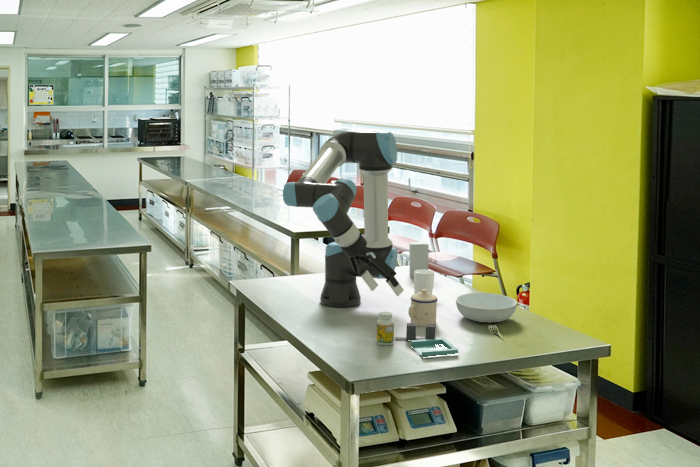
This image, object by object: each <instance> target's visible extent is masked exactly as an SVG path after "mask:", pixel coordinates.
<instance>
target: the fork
mask: <svg viewBox="0 0 700 467" xmlns="http://www.w3.org/2000/svg"><path fill="white" fill-rule="evenodd" d="M490 328H493V329H494V328H495V329H496V328H497V329H498V327H497V325H496V324H494V325H488V330H489V329H490Z"/></svg>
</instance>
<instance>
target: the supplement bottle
mask: <svg viewBox="0 0 700 467" xmlns="http://www.w3.org/2000/svg"><path fill="white" fill-rule="evenodd" d="M378 317H379V318H378V319H377V321H376V343H377V344H378V345H380V346H391V344H392V345H393V344H394V343H395V321H394V319H392V318H393V313H392V312H390V311H380V312H379V313H378Z"/></svg>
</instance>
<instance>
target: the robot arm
mask: <svg viewBox="0 0 700 467" xmlns="http://www.w3.org/2000/svg"><path fill="white" fill-rule="evenodd" d="M397 160H398V146H397V140H396V138H395V136H394V134H393V133H392V132H391V131H388V130H381V129H348V130H344V131H341V132H338V133H336V134H334V135H333V136H331V137H330V138H328V139H327V140H326V141H324V143H323V145H321V147H320V149H319V154H317V157H316V158H315V160H314V161H313V162H312V163H311V164H310V166H309V167H308V168H307V169H306V171H305V172H304V173H303V174H302V175H301V177H300V178H299V179H298V180H297V181H290V182H286V183H285V184H284V186H283V189H282V200H283V202H284V204H285V205H286V206H289V207H295V208H298V207H299V208H312V212H314V214H315V215H316V218H317V219H318V221H319V222H321V224H322V225H323V226H324V227H325V229H326V230H327V232H329V234H330V236H331V237H332V238H333V240H334V241H332V242H330V243H328V244H326V247H325V255H324V259H325V260H324V268H325V269H324V271H325V272H324V274H325V276H324V280H325V281H324V285H323V288H322V291H321V293H320V301H321V302H320V304H321V303H322V304H321V305H323V304H324V305H323V306H326V305H327V307H330V306H331V307H332V308H349V307H350V308H351V307H352V308H353V307H355V306H356V307H357V306H359V305H360V304H361V302H362V300H361V299H362V298H361V293H360V290H359V286H358V283H357V278H362V280H363V281H364V283H365V284H366V285H367V286H368V288H369V290H370V291H371V292H373V291H375V290H376V288H378V286H379V284H378V282H377V281H376V280H375V279H378V280H381V279H383V280H384V279H385V283H387V284H388V286H389V287H390V288H391V290H392V291H393V293H394V294H395V295H396V296H397V297H399V296H400V295H401V294H402V293H403V292H404V288H403V286H402V285H401V284H400V282H399V281H398V280H397V278H396V277H395V276H396V275H397V272H396V271H395V270H396V266H397V262H398V254H399V252H398V248H396V247H394V246H393V241H392V240H391V239H390V238H389V189H388V188H389V187H388V184H389V181H388V180H389V179H388V178H389V172H390V171H391V170H392V168H393V165H395V164H396V163H397ZM352 163H353V164H358V169H359V171H360V172H361V173H362V174H363V217H364V218H363V219H364V220H363V222H364V224H363V225H364V226H363V227H364V228H363V229H364V236H363V234H362V233H361V232H360V230H359V228H358V227H357V225H355V223H354V222H353V220H352V219H351V218H350V216H349V215H348V212H349V210H350V208H351V206H352V204H353V202H354V201H355V197H356V195H357V189H358V188H357V185H356V184H355V182H354V181H352V180H351V179H349V178H348V177H341V178H338V179H337V180H335V182H334V183H328V181H329V179H330V178H331V177H332V175H333V174H334V173H335V171H336V170H337V169H338V168H339V167H341V166H343V165H344V164H352Z"/></svg>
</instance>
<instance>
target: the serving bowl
mask: <svg viewBox="0 0 700 467" xmlns="http://www.w3.org/2000/svg"><path fill="white" fill-rule="evenodd" d="M455 303H456V308H457V310H458V311H459V314H461V315H462V316H463V317H464V318H466V319H468V320H471V321H474V322H477V321H478V323H482V322H488V323H487V324H492V323H491V322H494V323H499V322H504V321H506V320H509V319H510V318H511V317H512V316H513V315H514V313H515V312H516V310H517V305H518V302H517V300H516V299H515V298H513V297H510V296H507V295H503V294H499V293H492V292H491V293H489V292H472V293H471V292H470V293H464V294H461V295H459V296H456V299H455Z"/></svg>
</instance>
